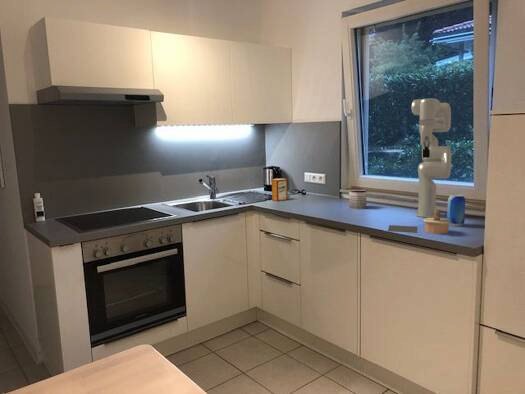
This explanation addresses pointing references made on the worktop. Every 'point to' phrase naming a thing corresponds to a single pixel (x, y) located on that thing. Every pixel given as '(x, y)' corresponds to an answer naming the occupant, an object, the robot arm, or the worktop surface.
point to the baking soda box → (279, 190)
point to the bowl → (436, 228)
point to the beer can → (456, 209)
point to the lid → (437, 219)
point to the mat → (402, 228)
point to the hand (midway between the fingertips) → (425, 156)
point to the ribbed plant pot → (357, 199)
